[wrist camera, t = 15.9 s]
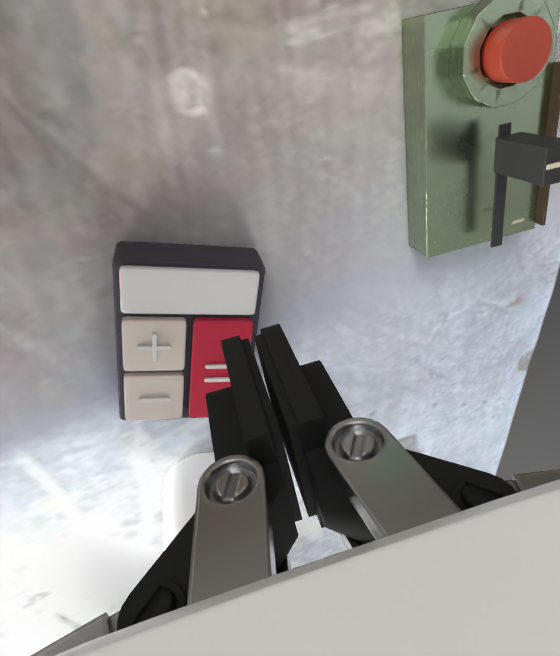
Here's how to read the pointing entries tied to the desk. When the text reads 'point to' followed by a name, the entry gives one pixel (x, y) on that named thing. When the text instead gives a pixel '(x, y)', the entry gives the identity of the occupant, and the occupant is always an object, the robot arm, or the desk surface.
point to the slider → (528, 158)
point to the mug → (182, 493)
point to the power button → (516, 49)
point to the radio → (466, 124)
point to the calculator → (179, 323)
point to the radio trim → (557, 104)
